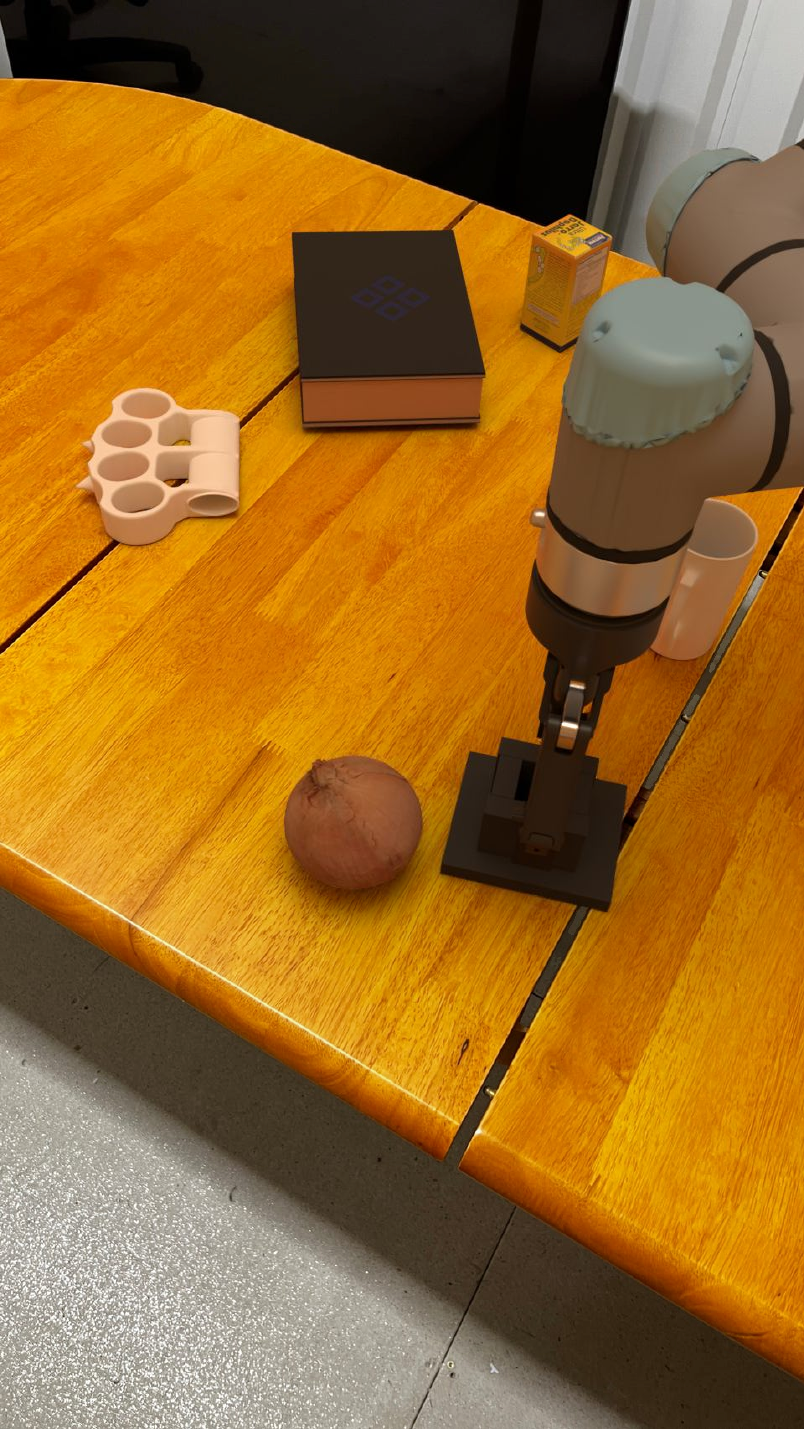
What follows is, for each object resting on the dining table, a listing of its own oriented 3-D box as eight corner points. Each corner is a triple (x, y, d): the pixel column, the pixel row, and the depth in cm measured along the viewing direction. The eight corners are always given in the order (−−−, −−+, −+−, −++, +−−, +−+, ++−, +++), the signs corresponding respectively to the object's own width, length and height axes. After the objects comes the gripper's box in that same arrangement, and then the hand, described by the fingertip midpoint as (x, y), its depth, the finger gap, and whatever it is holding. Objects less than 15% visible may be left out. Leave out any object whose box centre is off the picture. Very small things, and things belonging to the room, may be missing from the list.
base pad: (623, 796, 83) (643, 741, 77) (607, 912, 77) (627, 862, 71) (467, 761, 84) (476, 706, 78) (439, 873, 78) (446, 822, 72)
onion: (303, 864, 81) (240, 775, 75) (408, 794, 83) (354, 700, 76) (352, 945, 74) (286, 854, 68) (466, 866, 75) (412, 769, 69)
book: (302, 435, 106) (299, 376, 101) (293, 288, 121) (291, 231, 116) (479, 429, 108) (486, 372, 103) (449, 286, 123) (453, 229, 118)
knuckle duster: (240, 543, 97) (71, 548, 96) (240, 414, 108) (89, 417, 107) (237, 514, 95) (63, 519, 93) (238, 385, 105) (82, 388, 104)
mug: (653, 592, 96) (687, 487, 86) (727, 622, 94) (769, 517, 84) (609, 669, 90) (640, 566, 81) (686, 702, 88) (727, 600, 79)
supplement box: (553, 308, 121) (569, 212, 112) (595, 332, 119) (615, 236, 110) (517, 329, 119) (531, 232, 110) (559, 354, 116) (577, 257, 107)
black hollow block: (587, 796, 81) (599, 757, 77) (574, 873, 77) (586, 836, 73) (494, 775, 82) (501, 735, 78) (476, 850, 78) (483, 812, 74)
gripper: (564, 429, 66) (518, 665, 84) (495, 720, 52) (458, 928, 70) (690, 452, 65) (616, 686, 83) (652, 753, 52) (574, 956, 69)
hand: (543, 797), depth 76 cm, fingers open, 10 cm apart
